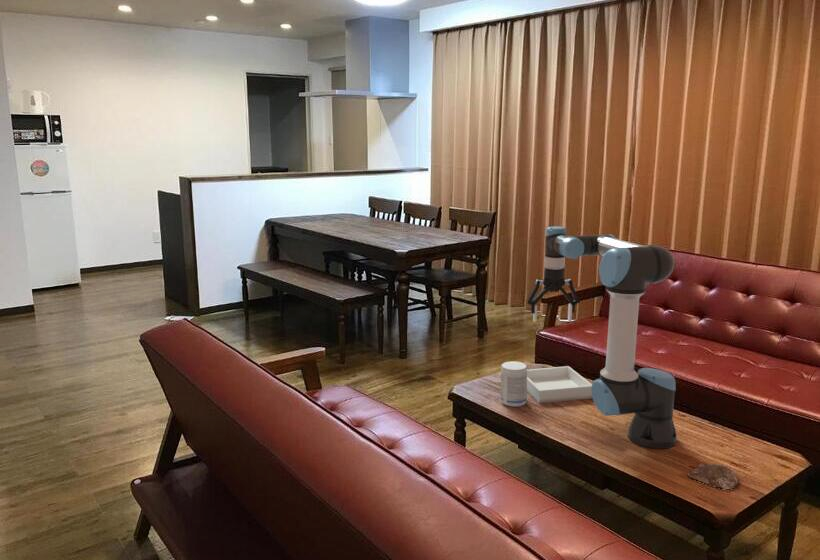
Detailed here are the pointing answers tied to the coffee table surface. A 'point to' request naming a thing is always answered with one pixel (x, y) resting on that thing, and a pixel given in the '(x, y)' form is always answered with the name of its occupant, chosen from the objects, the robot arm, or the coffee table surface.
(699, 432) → the coffee table surface
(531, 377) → the white bin
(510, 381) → the supplement tub
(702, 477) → the shell
